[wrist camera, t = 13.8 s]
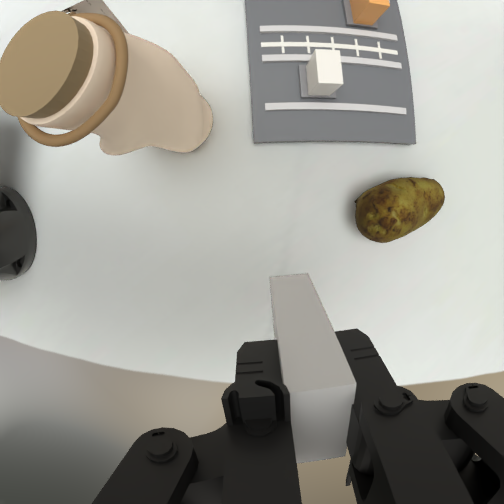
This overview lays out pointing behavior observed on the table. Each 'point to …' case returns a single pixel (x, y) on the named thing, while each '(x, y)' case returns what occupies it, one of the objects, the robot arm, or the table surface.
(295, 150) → the table surface
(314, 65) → the fader
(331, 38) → the console
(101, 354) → the table surface
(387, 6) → the fader
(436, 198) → the potato
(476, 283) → the table surface
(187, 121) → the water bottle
